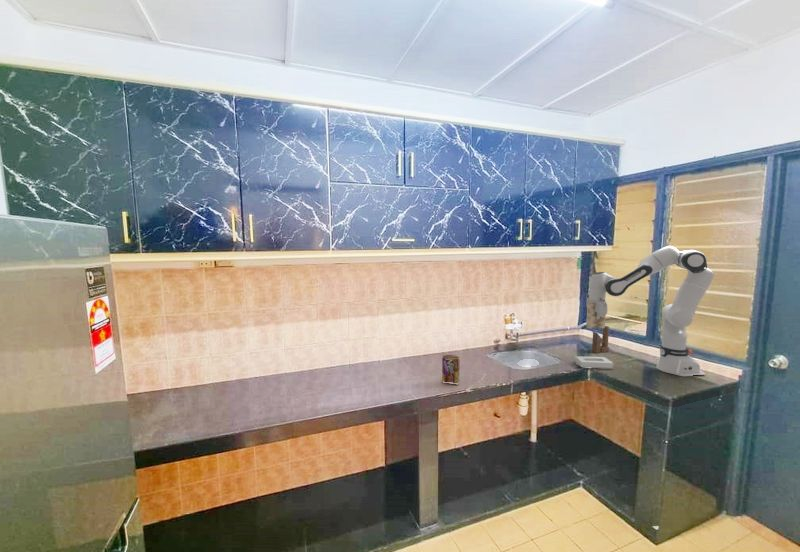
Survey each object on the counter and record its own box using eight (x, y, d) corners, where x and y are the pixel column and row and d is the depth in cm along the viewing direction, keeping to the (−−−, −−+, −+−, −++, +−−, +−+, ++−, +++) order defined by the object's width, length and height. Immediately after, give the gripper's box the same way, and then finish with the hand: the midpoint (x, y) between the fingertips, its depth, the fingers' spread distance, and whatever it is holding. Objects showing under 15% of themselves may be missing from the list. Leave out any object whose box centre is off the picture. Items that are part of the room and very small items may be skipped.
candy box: (459, 382, 182) (459, 355, 180) (458, 385, 178) (458, 358, 176) (443, 380, 185) (443, 353, 183) (441, 383, 181) (442, 356, 179)
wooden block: (591, 351, 231) (593, 326, 229) (604, 350, 234) (606, 325, 232) (595, 353, 228) (597, 327, 226) (608, 352, 230) (610, 326, 228)
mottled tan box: (602, 327, 217) (603, 302, 215) (604, 328, 214) (606, 303, 212) (586, 326, 217) (587, 302, 216) (588, 328, 215) (589, 303, 213)
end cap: (604, 363, 210) (604, 357, 209) (612, 369, 200) (613, 363, 199) (574, 362, 211) (574, 356, 211) (581, 368, 202) (581, 362, 201)
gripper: (611, 300, 203) (609, 322, 204) (594, 294, 223) (593, 314, 224) (600, 300, 203) (598, 322, 205) (585, 294, 224) (583, 314, 225)
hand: (595, 318), depth 215 cm, fingers closed on mottled tan box, 3 cm apart
